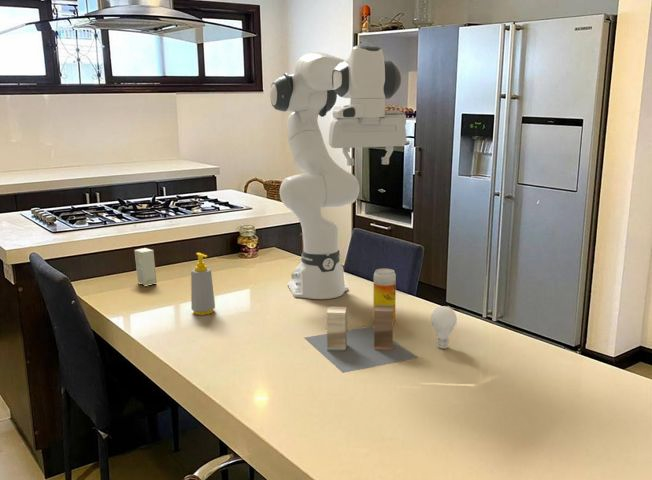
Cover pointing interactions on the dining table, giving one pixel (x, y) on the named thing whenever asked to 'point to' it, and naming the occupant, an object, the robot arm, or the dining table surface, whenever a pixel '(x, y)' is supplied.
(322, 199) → the robot arm
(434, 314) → the lightbulb
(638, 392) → the dining table surface
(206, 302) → the soap bottle
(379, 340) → the walnut block
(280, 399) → the dining table surface
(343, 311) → the maple block
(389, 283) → the beer can
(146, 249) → the skincare box
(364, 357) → the rubber mat
